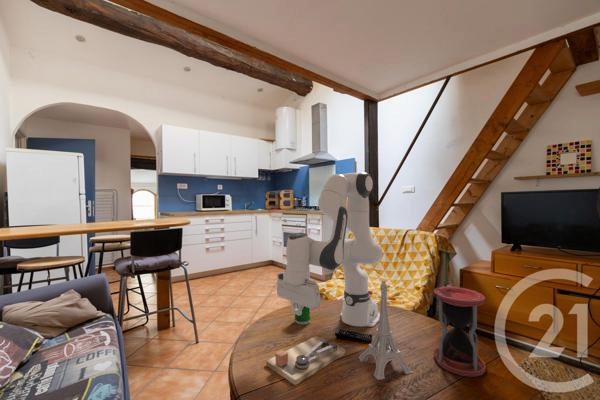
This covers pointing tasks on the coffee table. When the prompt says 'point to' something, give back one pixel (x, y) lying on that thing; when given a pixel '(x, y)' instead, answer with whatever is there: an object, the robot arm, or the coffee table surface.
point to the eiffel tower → (384, 342)
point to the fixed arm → (319, 355)
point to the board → (299, 375)
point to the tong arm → (311, 352)
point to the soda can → (303, 316)
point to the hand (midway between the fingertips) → (297, 314)
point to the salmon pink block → (281, 358)
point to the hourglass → (459, 331)
